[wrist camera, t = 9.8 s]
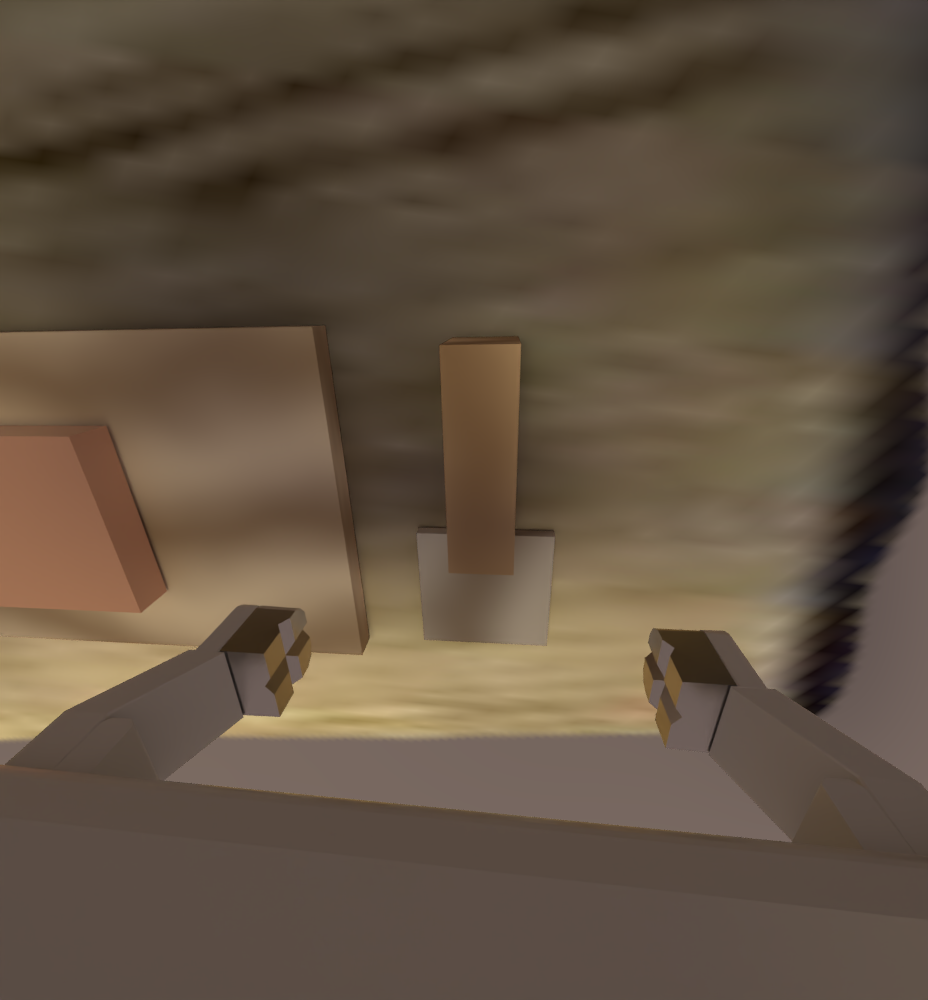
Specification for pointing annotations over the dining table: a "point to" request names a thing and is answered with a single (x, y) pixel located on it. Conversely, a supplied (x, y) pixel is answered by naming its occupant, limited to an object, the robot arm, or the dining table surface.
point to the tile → (70, 524)
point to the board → (206, 473)
